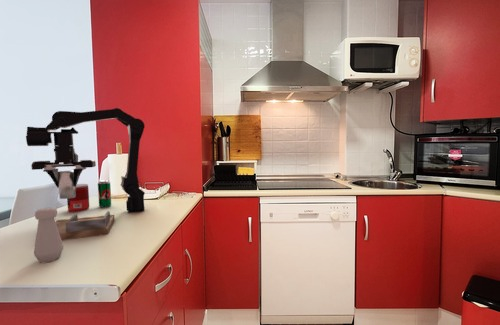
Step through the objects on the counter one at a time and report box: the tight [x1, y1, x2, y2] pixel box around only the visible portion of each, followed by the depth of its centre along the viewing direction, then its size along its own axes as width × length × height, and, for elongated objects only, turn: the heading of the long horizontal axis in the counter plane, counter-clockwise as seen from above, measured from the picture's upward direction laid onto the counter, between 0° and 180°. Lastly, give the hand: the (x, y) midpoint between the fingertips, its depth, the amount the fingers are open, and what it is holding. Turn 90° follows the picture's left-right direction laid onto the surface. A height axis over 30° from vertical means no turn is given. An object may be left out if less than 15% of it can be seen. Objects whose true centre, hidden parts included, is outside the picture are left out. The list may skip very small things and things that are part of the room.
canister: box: [58, 170, 76, 200], centre depth 94 cm, size 5×5×10 cm
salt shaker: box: [33, 207, 64, 263], centre depth 63 cm, size 6×6×13 cm
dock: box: [55, 210, 116, 241], centre depth 84 cm, size 18×16×5 cm
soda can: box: [97, 179, 112, 208], centre depth 116 cm, size 5×5×12 cm
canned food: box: [66, 183, 90, 213], centre depth 110 cm, size 8×8×11 cm
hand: (67, 186), depth 94 cm, fingers closed on canister, 5 cm apart
